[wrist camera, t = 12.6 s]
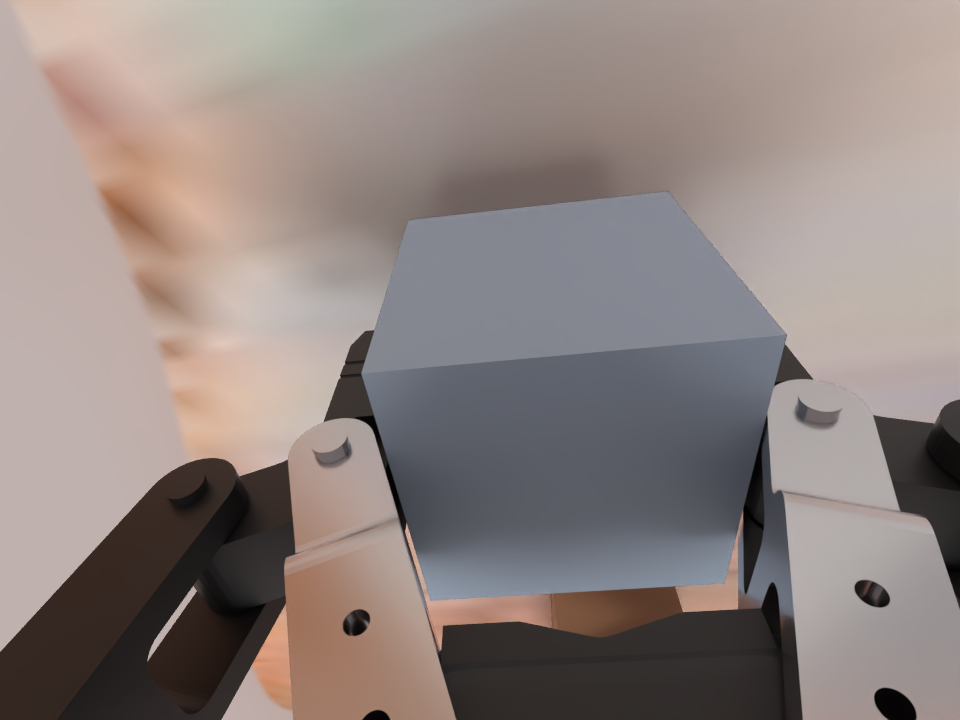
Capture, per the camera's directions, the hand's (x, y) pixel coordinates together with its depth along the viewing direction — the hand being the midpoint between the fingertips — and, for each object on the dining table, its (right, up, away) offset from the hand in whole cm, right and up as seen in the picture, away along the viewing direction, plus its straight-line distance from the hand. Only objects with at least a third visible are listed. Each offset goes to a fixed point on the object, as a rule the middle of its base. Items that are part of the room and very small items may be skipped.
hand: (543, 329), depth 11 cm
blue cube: (0, 0, 0) cm, 1 cm away
